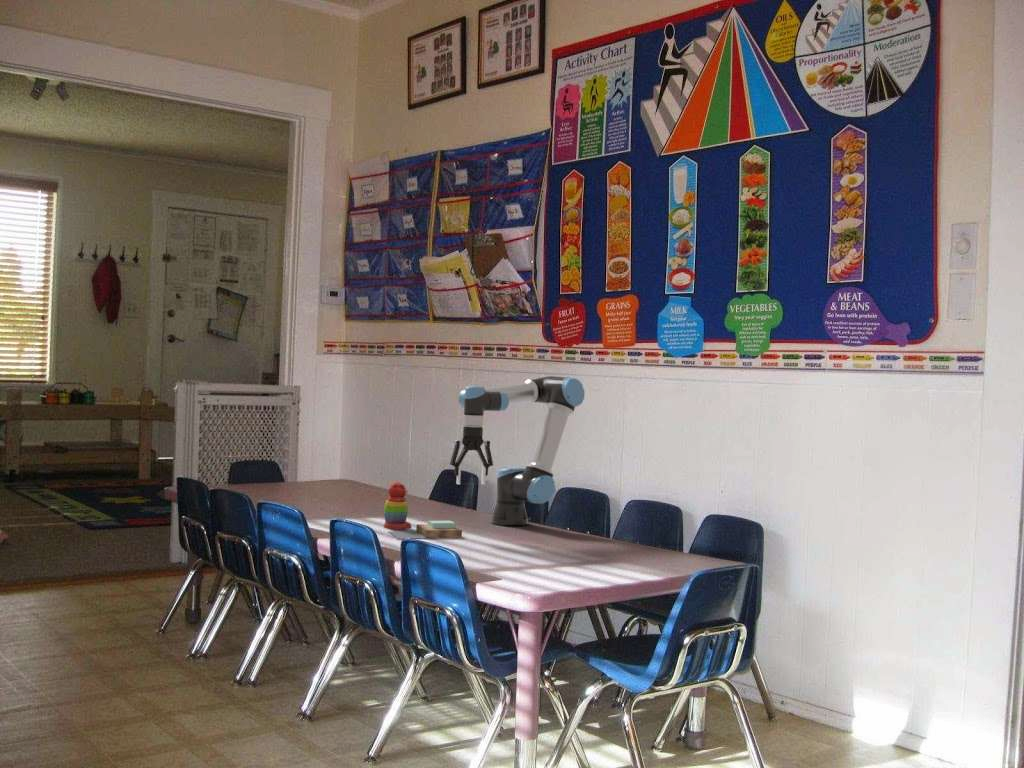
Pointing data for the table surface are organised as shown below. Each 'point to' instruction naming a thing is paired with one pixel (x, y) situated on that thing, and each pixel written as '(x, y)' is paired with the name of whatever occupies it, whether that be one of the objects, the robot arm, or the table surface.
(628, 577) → the table surface
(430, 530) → the tan flat square slab
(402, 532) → the mat
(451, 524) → the mint green block
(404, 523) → the stacking bear
